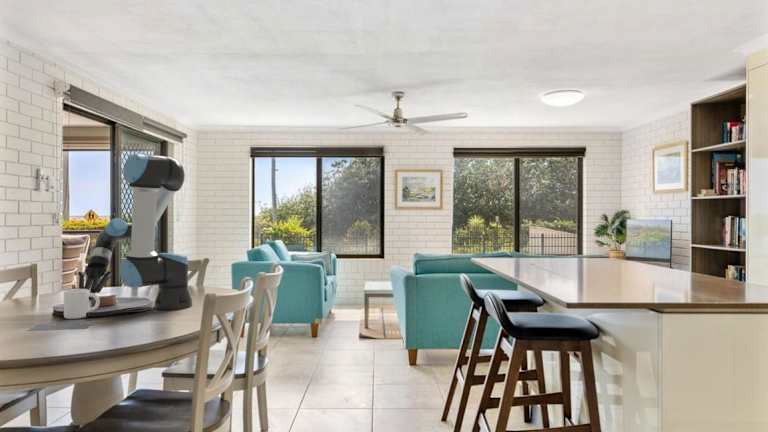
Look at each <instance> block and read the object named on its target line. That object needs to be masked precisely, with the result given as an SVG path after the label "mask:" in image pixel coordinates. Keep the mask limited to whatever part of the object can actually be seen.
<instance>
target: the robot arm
mask: <svg viewBox="0 0 768 432" xmlns="http://www.w3.org/2000/svg"><path fill="white" fill-rule="evenodd" d="M122 173H123V175H122V176H123V179H124V180H125V182H126V183H128V184H129V185H128V188H130V190H132V212H131V213H132V214H131V215H132V218H131V221H130V222H129V221H125V220H124V219H122V218H119V217H115V218H113V219H111V220H110V221H108V223H107V224H106V225H105V228H104V229H102V230H101V231H100V232H98V233H99V234H98V235H97V238H96V241H95V245H94V247H93V250H92V252H91V255H90V259H89V260H88V263H87V267H86V269H85V270H84V271H82V272H81V271H78V272H77V274H78V282H79V283H78V289H88V290H89V293H94V294H100V293H101V291H102V290H103V288H104V286H105V285H106V284H107V282H108V281H109V279H110V278H111V277H112V276H113V275H112V272H111V271H110V270H108V267H109V265H110V261H111V259H112V255H113V252H114V249H115V246H116V245H117V244H118V243H119V242H120V240H130V250H129V251H128V252H127V253H126V255H125V257H126V258H125V259H122V260H121V261H120V264H119V275H120V278H121V281H122V282H123V284H124V285H125V286H126V287H128V288H130V289H131V288H143V287H150V286H157V285H158V291H157V294H156V297H155V300H154V301H153V302H154V304H153V305H154V306H153V308H154V309H156V310H160V311H171V310H181V309H186V308H189V307H192V306H193V298H192V296H191V293H190V291H189V261H188V259H189V258H188V256H187V255H186V254H181V253H170V252H169V253H168V252H159V253H158V252H156V250H155V238H156V237H157V235H158V232H159V227H158V226H159V225H158V222H159V220H160V219H161V217H162V215H163V214H164V212H165V210H166V209H167V207H168V205H169V203H170V202H171V200H172V198H173V197H174V196H175V193H177V192H178V191H180V190H181V188H182V187H183V184H184V182H185V175H186V174H185V170H184V167H183V166H182V164H181V162H180V161H179V160H178V159H176V158H174V157H172V156H169V155H156V154H155V155H154V154H147V153H133V154H130V156H128V157H127V158H126V160H125V162H124V166H123V171H122ZM86 275H87V277H86ZM85 277H86V281H85ZM93 299H94V297H89V302H91V301H93Z"/></svg>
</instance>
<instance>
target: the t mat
mask: <svg viewBox="0 0 768 432" xmlns="http://www.w3.org/2000/svg"><path fill="white" fill-rule="evenodd" d="M84 321H86V319H67V320H65V319H64V320H61V321H59V322H57V323H54V324H37V325H35V326H33V327H31V328H29V329H28V330H26V332H33V331H34V332H36V331H41V332H42V331H60V330H61V331H62V330H67V331H68V330H87V329H88V328H90V327H91V326H93V325H96V324H95V323H96V322H89V323H88V322H87V323H86V322H85V323H84Z"/></svg>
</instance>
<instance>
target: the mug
mask: <svg viewBox="0 0 768 432" xmlns="http://www.w3.org/2000/svg"><path fill="white" fill-rule="evenodd" d="M89 291H90V290H88V289H79V288H74V289H73V288H72V289H66V290H64V291H63V317H64V318H65V319H67V320H78V319H83V318H86V317H87V316H86V313H87V312H89V313H90V312H94V311H95V310H97V309H98V308H99V306H100V303H101V302H100V300H101V299H100V297H99V296H98V295H97V293H95V294H94V293H89ZM89 297H93V299H94V300H95V305H94V306H93V307H90V301H89Z"/></svg>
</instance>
